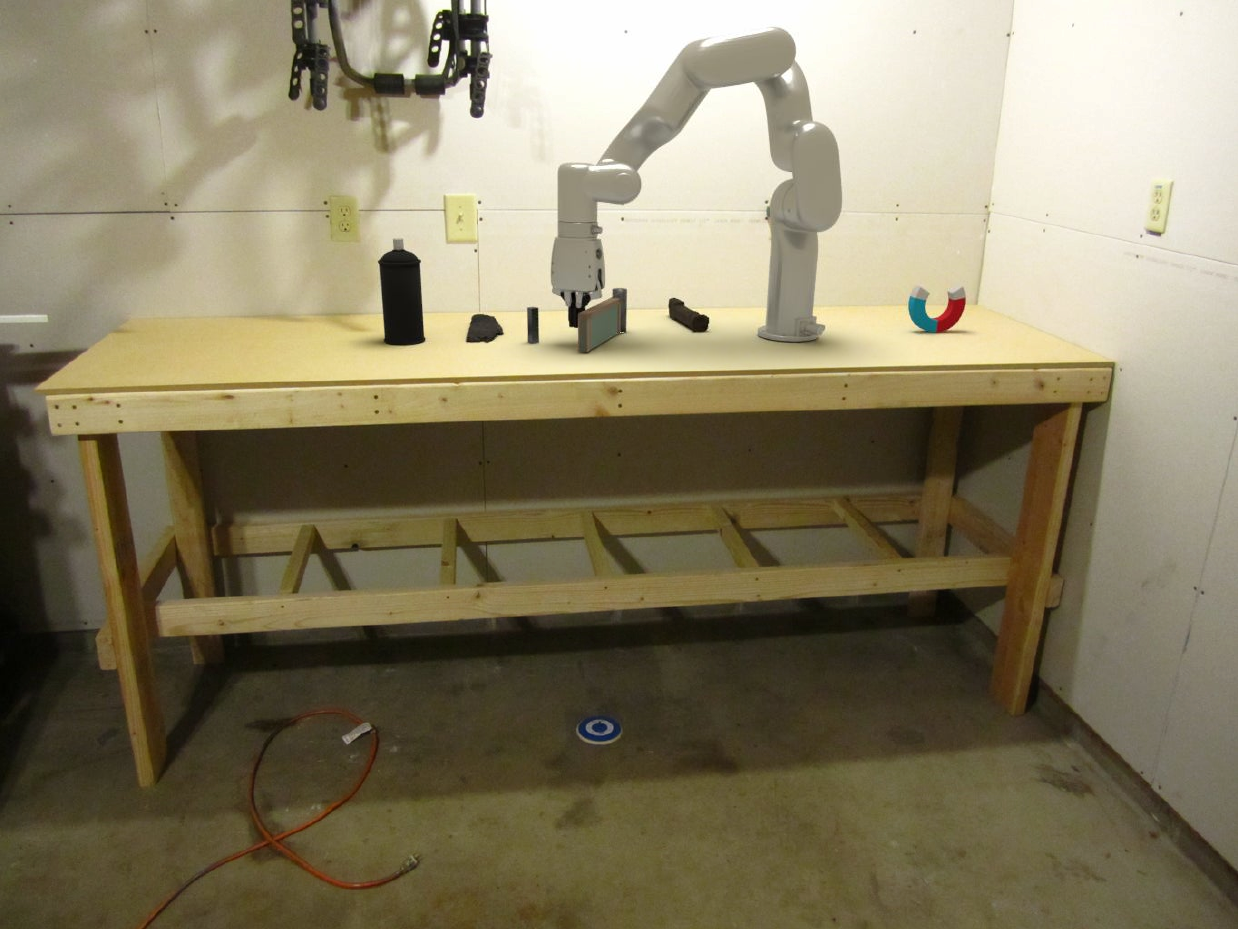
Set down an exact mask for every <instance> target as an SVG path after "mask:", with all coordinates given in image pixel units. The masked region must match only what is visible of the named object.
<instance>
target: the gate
mask: <svg viewBox="0 0 1238 929" xmlns="http://www.w3.org/2000/svg"><path fill="white" fill-rule="evenodd" d="M620 332H621V298H616V297H609V298H607V299H605V300H604V301H601V302H600V303H597V304H595V305H593V306H591V307H588V308H587V309H585V311H582V312H580V313H578V328H577V351H578V352H582V353H583V352H584V353H589V352H590V351H591V350H592V349H594V348H596V347H597V346H599V345H601V344H603V343H604V342H606V341H607V340H609V339H611V338H613V337H615V336H616V335H618V334H621V333H620Z"/></svg>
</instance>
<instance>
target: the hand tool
mask: <svg viewBox="0 0 1238 929" xmlns="http://www.w3.org/2000/svg"><path fill="white" fill-rule="evenodd" d="M667 305H668V306H667V307H668V313H669V314H668V315H669V317H670V318H671V319H672V321H679V322H681V323H683V324H684V325H686V326H688V327H689V328H691V331H692V333H704V332H707V331H708V330H709V324H710V317H709V316H708V315H706V314H703V313H702V314H700V313H699V312H698V311H696V310H693V309H691V308H689V307H687V306H686V305H685V302H684V301H683V300H681V299H679V298H676V297H671V298H669V299H668V304H667Z"/></svg>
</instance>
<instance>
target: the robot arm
mask: <svg viewBox="0 0 1238 929" xmlns="http://www.w3.org/2000/svg"><path fill="white" fill-rule="evenodd" d="M796 54H797V47H796V43H795V41H794V38H793V37H792V35H791V34H790V33H789V32H788V31H787V30H786V29H785V28H781V27H779V26H778V27H777V26H769V27H764V28H760V29H759V28H758V29H753V30H749V31H744V32H738V33H735V34H728V35H721V36H713V37H706V38H703V39H702V38H701V39H697V40H693V41H691V42H689V43H688V44H686V45H685V46H684V47H683V48H682V49H681V50H680V52H679V53H678V54H677V56H676V58H675V59H674V60H673V62H672V63H671V65H670V66H669V67H668V69H667V71H666V72H665V73H664V74H663V76H662V77H661V79H660V81H658V84H657V85H656V86H655V88H654V89H653V90H652V92H651V94H649V96H648V98H646V101H645V102H644V103H643V104H642V106H640V108H639V109H638V110H637V111H636V113H634V115H633V116H632V118H631V119H630V120H629V121H628V122H627V123H626V124H625V125H624V127H623V128H622V129H621V130H620V131H619V132H618V134H617V135H616V136H615V137H614V139H612V141H611V143H610V144H609V145H608V147H607V148H606V149H605V151H604V153H603V154H602V156H601V157H600V158H599V160H598V161H597V163H596V164H593V163H589V162H588V163H587V162H563V163H561V164H560V165H559V167H558V170H557V236H556V237H554V241H553V244H552V245H553V246H552V251H551V258H550V259H551V263H550V284H551V286H552V289H551V293H552V294H553V295H556V296H559V297H560V298H562V301H564V302H565V304H564V305H565V306H566V307H567V321H568V327H569V328H574V329H578V313H580V312H582V311H585V310H586V307H587V306H589V303H590V302H592V300H599V299H602V297H603V293H602V290H603V289H605V287H606V267H605V266H606V264H605V254H604V248H603V244H602V243H603V242H602V239H601V238H598V235H602V234H603V231H604V229H603V226H599V225H598V224H599V223H598V203H604V204H605V203H606V204H611V205H616V206H617V205H618V206H619V205H621V206H623V205H627V204H630V203H632V202H634V200H636V198H637V197H639V195H640V193H641V190H642V184H643V182H642V178H641V176H640V173H639V172H638V171H639V170H640V168H641V167H642V166H643V164H644V163H645V162H646V161H647V160H648V158H649V157H651V155H652V154H653V153H655V152H656V151H657V150H658V149H660V148H661V147H663V146H665V145H666V144H668V143H670V142H671V141H673V140H674V139H675V138H676V137H677V136H678V135H679V134H681V132H682V131H683V130H684V128H685V127H686V125H687V124H688V122H689V121H690V120H691V118H692V116H693V115H694V114H695V112H696V111H697V109H698V108H699V107H700V105H701V104H702V103H703V101H704V100H705V98H706V96H707V95H708V94H709V92H710V91H711V90H712V89H719V88H726V87H727V88H728V87H735V86H739V85H746V84H751V83H754V84H755V85H756V87H757V88H758V90H759V91H760V93H761V95H762V98H763V103H764V106H765V112H766V122H767V132H768V141H769V152H770V158H771V161H772V163H773V164H774V166H775V167H776V168H778V169H779V170H781V171H783V172H787V173H791V175H792V178H790V179H787V180H784V181H782V182H781V183H780V184H778V185H777V187H776V188H775V190H773V193H772V195H771V198H770V202H769V221H770V258H769V270H768V283H767V298H766V310H765V312H766V314H765V325H763V326H760V327H758V328H757V335H758V336H759V337H761V338H764V339H766V340H771V341H779V342H789V343H790V342H793V343H794V342H795V343H796V342H797V343H798V342H799V343H800V342H810V341H814V340H816V339H818V338H819V336H821V335H822V334H823V332H825V330H826V325H825V324H822V323H817V318H818V317H817V316H815V315H813V314H814V303H815V291H816V281H817V279H816V278H817V268H818V258H819V235H818V233H823V232H826V231H828V230H829V229H831V228H832V227H833V226H834V225H835V224H836V223H837V222H838V220H839V218H840V216H841V212H842V206H843V188H842V187H843V186H842V177H841V176H842V175H841V174H842V173H841V163H840V162H841V161H840V153H839V152H840V150H839V145H838V142H837V139H836V137H835V135H834V133H833V131H832V130H831V129H830V128H829V127H828V126H826V124H824V123H822V122H818V121H815V120H813V112H812V111H813V110H812V105H811V97H810V90H809V86H808V82H807V79H806V76H805V74H804V71H803V70H802V68H801V66H800V64H799V63H798V62H797V60H796Z"/></svg>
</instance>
